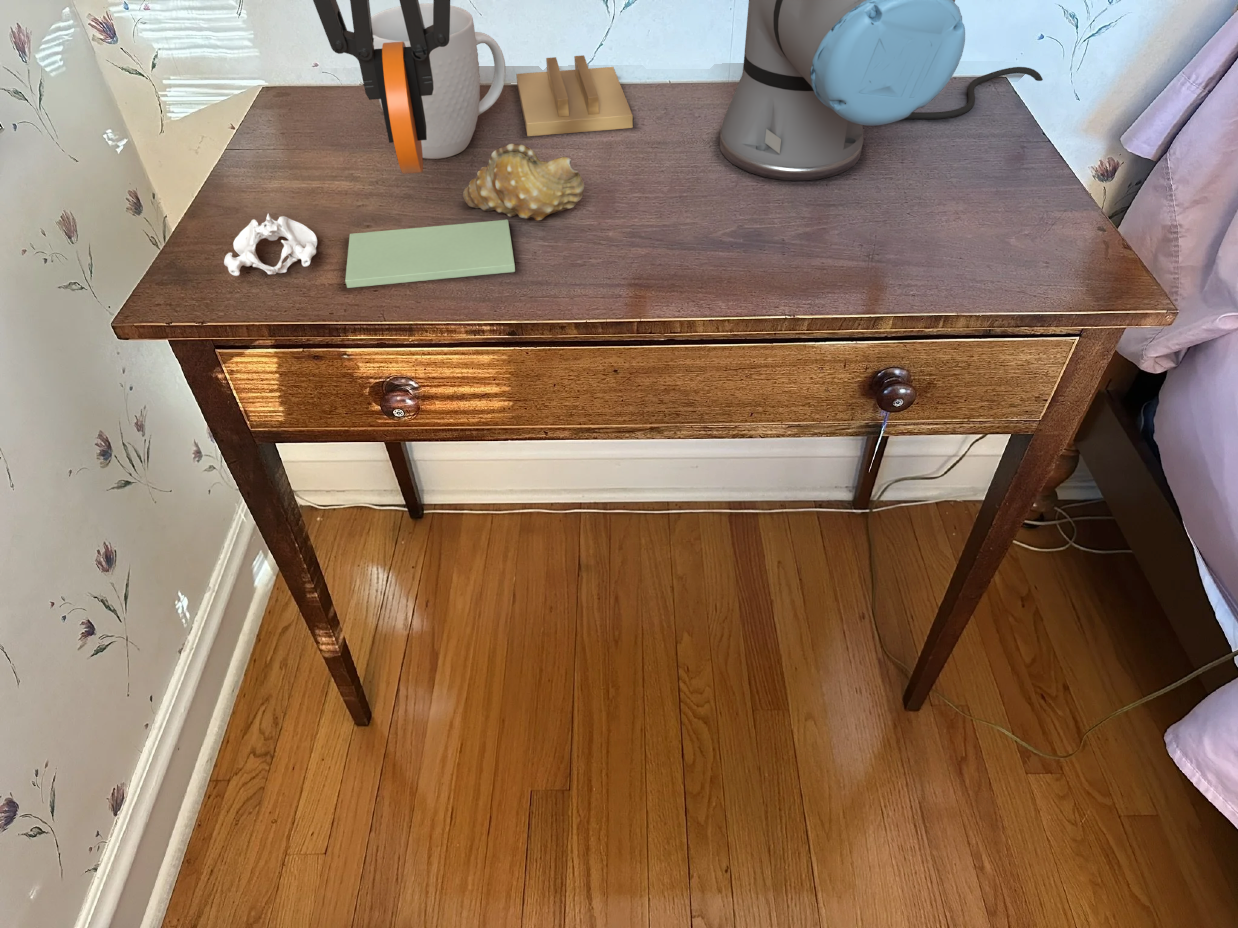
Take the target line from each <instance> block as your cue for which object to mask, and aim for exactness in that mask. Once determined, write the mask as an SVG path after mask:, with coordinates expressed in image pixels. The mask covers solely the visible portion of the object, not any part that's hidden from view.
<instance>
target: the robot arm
mask: <svg viewBox="0 0 1238 928" xmlns="http://www.w3.org/2000/svg"><path fill="white" fill-rule="evenodd" d="M312 1H313V4H314V7H315V9H316V12H317V14H318V17H319V20H320V23H321V25H322V27H323V30H324V32H325V36H326V38H327V41H328V43H329V46H330V48H331V50H332V51H333V52H334V53H336V54H338V55H341V54H347V55H350V56H353V57H355V59H357V62H358V63H359V68H360V72H361V78H362V83H363V87H364V88H363V89H364V93H365V95H366V97H367V99H368V100H370V101H373V100H378V99H381V103H382V108H383V110H382V113H383V118H384V123H385V128H386V135H387V138H388V143H389V144H390V143H392V144H394V140H393V135H392V130H391V124H390V118H389V112H388V105H387V98H386V90H385V82H384V73H383V61H382V49H375V50H374V44H373V43H374V38H373V31H372V22H371V16H372V15H371V4H370V0H349V2H350V10H351V11H350V13H351V18H352V20H351V21H352V27H353V31H351V30H348V28H347V25H346V22H345V20H344V17H343V15H342V14H343V13H342V12H341V9H340V6H339V3H338V1H337V0H312ZM432 1H433V2H432V4H433V25H431V26H429V27H427V28H425V27H424V22H423V18H422V14H421V9H420V5H419V4H420V0H399V4H400V5H399V6H401V9H402V13H403V17H404V21H405V25H406V29H407V33H408V37H409V42H410V46H411V47H404V63H405V68H406V74H407V80H408V86H409V92H410V98H411V104H412V110H413V116H414V122H415V127H416V133H417V139H418V141H420V140H427V134H426V121H425V115H424V108H423V102H422V96H428V95H432V93H433V89H434V87H433V77H432V70H431V63H430V57H429V55H430V53H431V51H432V50H434V49H435V48H438V47H445V46H447V45H448V43H449V38H450V5H451V0H432ZM955 2H956V0H748V6H747V18H746V30H745V43H744V53H743V56H744V57H743V64H742V65H743V66H742V74H741V76H740V79H739V81H738V83H737V86H736V88H735V91H734V93H733V95H732V99H731V101H730V103H729V105H728V108H727V111H726V113H725V115H724V118H723V119H722V123H721V127H720V134H719V135H720V136H719V149H720V152H721V154H722V155H723V156H724V158H725V159H726V160H727V161H729V162H730V163H731V164H732V165H734V166H735V167H738V168H739V169H740V170H743V171H745V172H748V173H751V174H754V175H756V176H760V177H765V178H769V179H773V180H783V181H814V180H822V179H827V178H830V177H834V176H838V175H840V174H842V173H845V172H846V171H848V170H850V169H852V168H853V167H854V166H856V164H857V163H858V162H859V160H860V158H861V155H862V149H863V144H864V128H863V126H867V127H869V126H873V127H875V126H883V125H889V124H893V123H895V122H899V121H901V120H940V119H949V118H954V117H959V116H962V115H964V114H966V113H969V112H970V111H971V110H972V109H973V108H974V106H975V104H976V103H975V102H976V94H975V88H976V87H977V86H978V85H981V84H982V83H984V82H987V81H990V80H993V79H997V78H999V77H1003V76H1008V75H1012V74H1013V75H1015V74H1021V75H1027V76H1029V77H1031V78H1033V79H1034V80H1035V81H1036V82H1042V81H1044V79H1043V76H1042V75H1041V74H1040V73H1039V72H1038V71H1037V70H1036V69H1034V68H1031V67H1026V66H1013V67H1007V68H1006V67H1005V68H1002V69H999V70H995V71H992V72H989V73H986V74H983V75H981V76H979V77H976V78H974V79H973V80H972V81H970V83H969V84H968V86H967V103H966V104H965V105H964V106H962V107H959V108H957V109H951V110H945V111H927V112H926V111H924V112H922V111H921V112H919V111H916V110H919V109H922V108H924V107H926V106H927V105H928V104H930V102H932V101H933V100H934V99H935V98H936V97H937V96H938V95H939V94H940V93H941V92H942V91H943V90H944V89H945V87H946V86H947V85H948V83H949V82H950V80H951V79H952V77H953V76H954V75H955V72H956V70H957V68H958V67H959V64H960V62H961V59H962V57H963V52H964V49H965V45H966V44H965V43H966V28H965V27H966V26H965V24H964V22H963V15H962V13H961V10H960V6H958V4H957V3H955ZM382 108H381V109H382Z"/></svg>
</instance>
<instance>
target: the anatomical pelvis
mask: <svg viewBox="0 0 1238 928" xmlns="http://www.w3.org/2000/svg"><path fill="white" fill-rule="evenodd" d="M265 218H266V219H265V221H264V222H261V224H260V225H259V221H257V220H256V219H251V221H250V222H249V223H248V225H247V226H245V227H244V228H243V229H242V230H241V231H240V232H239V233H238V235H237V236H236V237H235V238H234V240H233V243H232V245H233V249H234V251H235V253H237V254H238V255H239V256H237V257H236V256H235V257H233V252H228V253H226V255H225V257H224V259H223V265H224V266H225V267H227V271H228V273H229V274H230V275H232V276H234V277H238V276H240V274H241V272H240V270H241V267H243V266H244V267H250V266H252V268H257V269H261V270H263V271H264V272H266V273H267V275H276V274H283V273H287V272H288V268H289V267H290V266H291V265H292V264H293V263H295V262H298V260H301V265H302V267H309V266H310V264H311V261H312V259H313V257H314V256H315V255H316V254H317V246H318V237H317V235H316V233H315V232H314V231H312V230H311V229H310V228H309V227H308V226H306V225H304V224H303V223H301V222H299V221H296V220H294V219H292V218H289V217H287V216H285V215H282V216H281V215H280V216H279V217H278V219H277V220H275V219H273V218H272V217H271V216H270V213H267V215H266V217H265ZM280 237H283V238H285V239H287V240H283V239H281V240H280V243H282V245H283V248H282V250H281V254H280V258H279V261H278V263H277V264H276V265H275V266H271V265H268V264H264V263H263V262H262V261H261V260H260V258H259V256H258V254H257V251H256V247H257V244H258V243H259V242H260V241H262V240H263V239H267V240H268V241H277V240H278V239H279V238H280ZM287 256H288V258H287V259H286V261H284V259H285V258H286V257H287ZM283 261H284V262H283Z"/></svg>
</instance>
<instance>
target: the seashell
mask: <svg viewBox="0 0 1238 928" xmlns="http://www.w3.org/2000/svg"><path fill="white" fill-rule="evenodd" d="M571 164H572V159H571V158H570V157H566V156H560V157H558V158H554V159H552V160H550V161H549V160H548V161H546V160H545V161H544V160H540V159H539V157H538V156H537V154H536V153H535V151H534V150H533V149H532V148H530V147H529V146H526V145H524V144H521V143H520V144H518V143H509V144H507V145H503V146H501V147H499V148H496V149H494V150H493V151H492V152H491V154H490V157H489V159H488V163H487V166H482V167H481V168H480V169H479V170H478V171H477V172H476V175H477V176H476V177H475V178H472V179H471V180H470V181H469V183H468V186H465V188H464V189H463V192H462V198H463V201H464V202H465V203H466V205H467V206H468V207H469V208H473V209H474V208H475V209H481V211H485V212H486V211H487V212H492V211H496V212H497V213H499V214H501V213H503V214H504V215H506V216H507V217H510V218H512V217H515V216H517V215H518V217H519V218H521V219H526V220H528V219H529V218H533V219H534V220H535V221H542V220H544V219H545V217H547V216H549V215H551V214H555V213H558V212H563V211H565V210H568V209H573V208H574V207H575V206H576V205H577V204H578V202H580V200H582V198H583V196H584V191H585V189H584V188H585V183H584V180H583V179H582V177H581V175H580V173H579V171H578V169H575V170H574V169H573V168H572V166H571Z"/></svg>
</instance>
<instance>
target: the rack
mask: <svg viewBox="0 0 1238 928" xmlns="http://www.w3.org/2000/svg"><path fill="white" fill-rule="evenodd" d="M545 59H546V60H545V62H546V71H538V72H537V71H536V72H522V73H516V74H515V75H516V86H517V93H518V97H519V101H520V107H521V111H522V116H523V122H524V126H525V132H526V136H527V137H537V136H538V137H539V136H548V135H551V136H552V135H562V134H563V135H564V134H574V133H575V134H577V133H586V132H587V133H589V132H600V131H611V130H612V131H614V130H625V129H633V128H634V121H633V119H634V115H633V112H632V110H631V108H630V105H629V102H628V100H627V97H626V95H625V93H624V90H623V87H622V85H621V82H620V79H619V78H618V74H617V72H616V70H615V67H614V66H605V67H591V68H589V65H588V62H587V60H586V56H585V55H574V57H573V59H574V69H564V70H561V69H560V66H559V63H558V59H557V57H555V56H554V57H546V58H545Z"/></svg>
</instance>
